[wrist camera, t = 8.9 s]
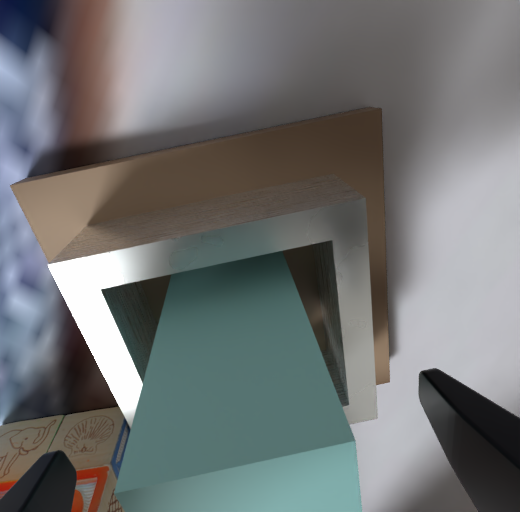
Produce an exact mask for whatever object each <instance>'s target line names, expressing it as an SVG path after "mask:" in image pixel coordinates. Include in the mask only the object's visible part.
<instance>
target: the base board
mask: <svg viewBox="0 0 520 512" xmlns="http://www.w3.org/2000/svg"><path fill="white" fill-rule="evenodd" d="M329 174H334V175H336V176H337V177H338V178H340V179H341V180H342V181H344V182H345V183H346V184H348V185H349V186H350V187H352V188H353V189H354V190H356V191H357V192H358V193H360V194H361V195H363V196H364V197H365V198H366V211H367V229H368V248H369V266H370V285H371V304H372V322H373V341H374V359H375V378H376V385H379V384H384V383H388V382H390V370H389V337H388V303H387V270H386V237H385V203H384V170H383V136H382V108H374V107H367V108H362V109H358V110H353V111H348V112H343V113H338V114H333V115H329V116H324V117H319V118H314V119H309V120H304V121H300V122H295V123H290V124H285V125H280V126H276V127H271V128H266V129H261V130H256V131H251V132H247V133H242V134H237V135H232V136H227V137H222V138H218V139H213V140H208V141H203V142H198V143H193V144H189V145H184V146H179V147H174V148H169V149H165V150H160V151H155V152H150V153H145V154H140V155H136V156H131V157H126V158H121V159H116V160H111V161H107V162H102V163H97V164H92V165H87V166H82V167H78V168H73V169H68V170H63V171H58V172H54V173H49V174H44V175H39V176H34V177H29V178H25V179H23V180H21V181H19V182H16V183H14V184H12V185H10V187H11V189H12V191H13V193H14V195H15V197H16V198H17V200H18V202H19V204H20V206H21V208H22V210H23V212H24V214H25V216H26V218H27V220H28V222H29V224H30V226H31V228H32V230H33V232H34V234H35V236H36V238H37V240H38V242H39V244H40V246H41V248H42V250H43V252H44V254H45V256H46V258H47V260H48V262H49V263H50V262H51V261H52V260H53V259H54V258H55V257H56V256H57V255H58V254H59V253H60V252H61V251H62V250H63V249H64V248H65V247H66V246H67V245H68V244H69V243H70V242H71V241H72V240H73V239H74V238H75V237H76V236H77V235H78V234H79V232H80V231H81V230H82V229H83V228H84V227H85V226H86V225H90V224H95V223H100V222H104V221H109V220H114V219H119V218H123V217H128V216H133V215H138V214H143V213H147V212H152V211H157V210H162V209H166V208H171V207H176V206H181V205H185V204H190V203H195V202H200V201H205V200H209V199H214V198H219V197H224V196H228V195H233V194H238V193H243V192H248V191H252V190H257V189H262V188H267V187H271V186H276V185H281V184H286V183H291V182H295V181H300V180H305V179H310V178H314V177H319V176H324V175H329ZM282 252H283V254H284V257H285V259H286V262H287V265H288V267H289V270H290V272H291V275H292V278H293V280H294V283H295V285H296V288H297V291H298V293H299V296H300V298H301V301H302V304H303V306H304V309H305V311H306V314H307V317H308V319H309V322H310V324H311V327H312V330H313V332H314V335H315V337H316V340H317V343H318V345H319V348H320V350H325V349H326V342H325V335H324V327H323V319H322V312H321V304H320V296H319V289H318V281H317V273H316V265H315V258H314V250H313V244H311V245H307V246H302V247H297V248H292V249H288V250H283V251H282ZM170 278H171V274H170V275H165V276H160V277H156V278H151V279H146V280H141V281H140V283H141V285H142V288H143V291H144V293H145V296H146V298H147V301H148V304H149V306H150V309H151V311H152V314H153V316H154V319H155V322H156V324H157V327H158V324H159V320H160V316H161V312H162V308H163V305H164V301H165V297H166V293H167V289H168V286H169V282H170Z"/></svg>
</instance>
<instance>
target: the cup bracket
mask: <svg viewBox="0 0 520 512" xmlns="http://www.w3.org/2000/svg"><path fill="white" fill-rule="evenodd" d="M311 244H313V250H314V258H315V265H316V273H317V281H318V289H319V296H320V304H321V312H322V319H323V327H324V335H325V342H326V349H325V350H321V353H322V356H323V358H324V361H325V363H326V366H327V369H328V371H329V374H330V376H331V379H332V382H333V384H334V387H335V389H336V392H337V395H338V397H339V400H340V402H341V405H342V408H343V410H344V413H345V415H346V418H347V421H348V423H349V424H354V423H359V422H363V421H368V420H372V419H377V418H378V415H377V396H376V378H375V359H374V341H373V322H372V304H371V285H370V266H369V248H368V229H367V211H366V198H365V197H364V196H363V195H361V194H360V193H358V192H357V191H356V190H354V189H353V188H352V187H350V186H349V185H348V184H346V183H345V182H344V181H342V180H341V179H340V178H338V177H337V176H336V175H334V174H329V175H324V176H319V177H314V178H310V179H305V180H300V181H295V182H291V183H286V184H281V185H276V186H271V187H267V188H262V189H257V190H252V191H248V192H243V193H238V194H233V195H228V196H224V197H219V198H214V199H209V200H205V201H200V202H195V203H190V204H185V205H181V206H176V207H171V208H166V209H162V210H157V211H152V212H147V213H143V214H138V215H133V216H128V217H123V218H119V219H114V220H109V221H104V222H100V223H95V224H90V225H86V226H85V227H84V228H83V229H82V230H81V231H80V232H79V234H78V235H77V236H76V237H75V238H74V239H73V240H72V241H71V242H70V243H69V244H68V245H67V246H66V247H65V248H64V249H63V250H62V251H61V252H60V253H59V254H58V255H57V256H56V257H55V258H54V259H53V260H52V261H51V262H50V263H49V264H48V267H49V269H50V271H51V273H52V275H53V277H54V279H55V280H56V282H57V284H58V286H59V288H60V290H61V292H62V294H63V296H64V298H65V300H66V302H67V304H68V306H69V308H70V310H71V312H72V314H73V316H74V318H75V320H76V322H77V324H78V326H79V328H80V330H81V332H82V334H83V336H84V338H85V340H86V342H87V344H88V346H89V348H90V349H91V351H92V353H93V355H94V357H95V359H96V361H97V363H98V365H99V367H100V369H101V371H102V373H103V375H104V377H105V379H106V381H107V383H108V385H109V387H110V389H111V391H112V393H113V395H114V397H115V399H116V401H117V403H118V405H119V407H120V409H121V411H122V413H123V415H124V416H125V418H126V420H127V422H128V424H129V426H130V428H131V427H132V423H133V419H134V415H135V411H136V407H137V404H138V400H139V396H140V392H141V388H142V385H143V381H144V377H145V373H146V369H147V366H148V362H149V358H150V354H151V350H152V347H153V343H154V339H155V335H156V331H157V324H156V322H155V319H154V316H153V314H152V311H151V309H150V306H149V304H148V301H147V298H146V296H145V293H144V291H143V288H142V285H141V283H140V281H141V280H146V279H151V278H156V277H160V276H165V275H170V274H174V273H179V272H184V271H189V270H193V269H198V268H203V267H207V266H212V265H217V264H222V263H226V262H231V261H236V260H240V259H245V258H250V257H255V256H259V255H264V254H269V253H274V252H278V251H283V250H288V249H292V248H297V247H302V246H307V245H311Z"/></svg>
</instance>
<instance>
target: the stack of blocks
mask: <svg viewBox="0 0 520 512" xmlns="http://www.w3.org/2000/svg"><path fill="white" fill-rule="evenodd" d="M130 430H131V428H130V426H129V424H128V422H127V420H126V418H125V416H124V415H123V413H122V411H121V409H120V407H114V408H107V409H99V410H93V411H87V412H81V413H74V414H69V415H66V416H64V415H57V416H52V417H45V418H39V419H33V420H26V421H20V422H14V423H9V424H5V425H2V426H0V499H1V498H2V497H3V496H4V495H5V494H6V493H7V491H8V490H9V489H10V488H11V487H12V486H13V485H14V484H15V483H16V482H17V481H18V480H19V479H20V478H21V477H22V476H23V475H24V473H25V472H26V471H27V470H28V469H29V468H30V467H31V466H32V465H33V464H34V463H35V462H36V461H37V460H38V459H39V458H40V457H41V456H42V455H43V454H45V453H48V452H52V451H57V450H62V451H64V452H65V454H66V455H67V457H68V458H69V460H70V461H71V463H72V464H73V466H74V467H75V469H76V472H77V482H76V488H75V493H74V499H73V504H72V510H71V512H125V511H124V509H123V508H122V506H121V504H120V503H119V501H118V500H117V498H116V496H115V495H114V491H115V487H116V484H117V480H118V476H119V472H120V468H121V465H122V461H123V457H124V453H125V449H126V446H127V442H128V438H129V434H130Z"/></svg>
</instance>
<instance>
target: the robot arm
mask: <svg viewBox="0 0 520 512" xmlns="http://www.w3.org/2000/svg"><path fill="white" fill-rule="evenodd" d="M419 399H420V402H421V405H422V407H423V409H424V411H425V413H426V415H427V417H428V419H429V421H430V424H431V426H432V428H433V430H434V432H435V434H436V436H437V438H438V440H439V442H440V444H441V446H442V449H443V451H444V453H445V455H446V457H447V459H448V461H449V463H450V465H451V467H452V468H453V470H454V472H455V473H456V475H457V477H458V479H459V480H460V482H461V484H462V485H463V487H464V488H465V490H466V492H467V493H468V495H469V497H470V498H471V500H472V502H473V503H474V505H475V507H476V508H477V510H478V512H520V418H519V417H517V416H516V415H514V414H512V413H511V412H509V411H507V410H506V409H504V408H502V407H501V406H499V405H497V404H496V403H494V402H492V401H491V400H489V399H487V398H486V397H484V396H482V395H481V394H479V393H477V392H476V391H474V390H472V389H471V388H469V387H467V386H466V385H464V384H462V383H461V382H459V381H457V380H456V379H454V378H452V377H451V376H449V375H447V374H446V373H444V372H442V371H441V370H439V369H436V368H433V369H428V370H424V371H421V372H420V373H419ZM76 482H77V472H76V469H75V467H74V466H73V464H72V463H71V461H70V460H69V458H68V457H67V455H66V454H65V452H64V451H62V450H57V451H52V452H48V453H45V454H43V455H42V456H41V457H40V458H39V459H38V460H37V461H36V462H35V463H34V464H33V465H32V466H31V467H30V468H29V469H28V470H27V471H26V472H25V473H24V475H23V476H22V477H21V478H20V479H19V480H18V481H17V482H16V483H15V484H14V485H13V486H12V487H11V488H10V489H9V490H8V491H7V493H6V494H5V495H4V496H3V497H2V498H1V499H0V512H71V510H72V504H73V499H74V493H75V488H76Z"/></svg>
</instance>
